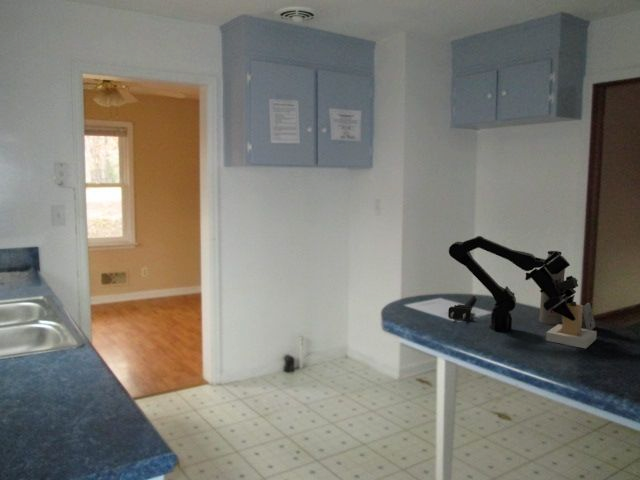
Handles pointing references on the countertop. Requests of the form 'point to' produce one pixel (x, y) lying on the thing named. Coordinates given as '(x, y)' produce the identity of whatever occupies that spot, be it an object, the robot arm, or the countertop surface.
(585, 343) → the socket block
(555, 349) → the countertop surface
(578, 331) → the plug
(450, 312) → the electrical plug
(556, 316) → the thermos bottle
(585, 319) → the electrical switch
